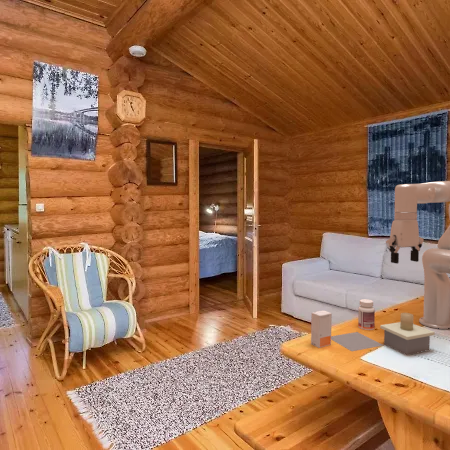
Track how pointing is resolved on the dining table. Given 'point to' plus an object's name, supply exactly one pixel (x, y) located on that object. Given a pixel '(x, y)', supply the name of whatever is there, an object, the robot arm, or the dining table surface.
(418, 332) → the lid
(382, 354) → the dining table surface
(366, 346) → the mat
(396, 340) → the open grey box
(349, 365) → the dining table surface
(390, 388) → the dining table surface
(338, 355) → the dining table surface
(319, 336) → the skincare box
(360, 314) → the pill bottle
